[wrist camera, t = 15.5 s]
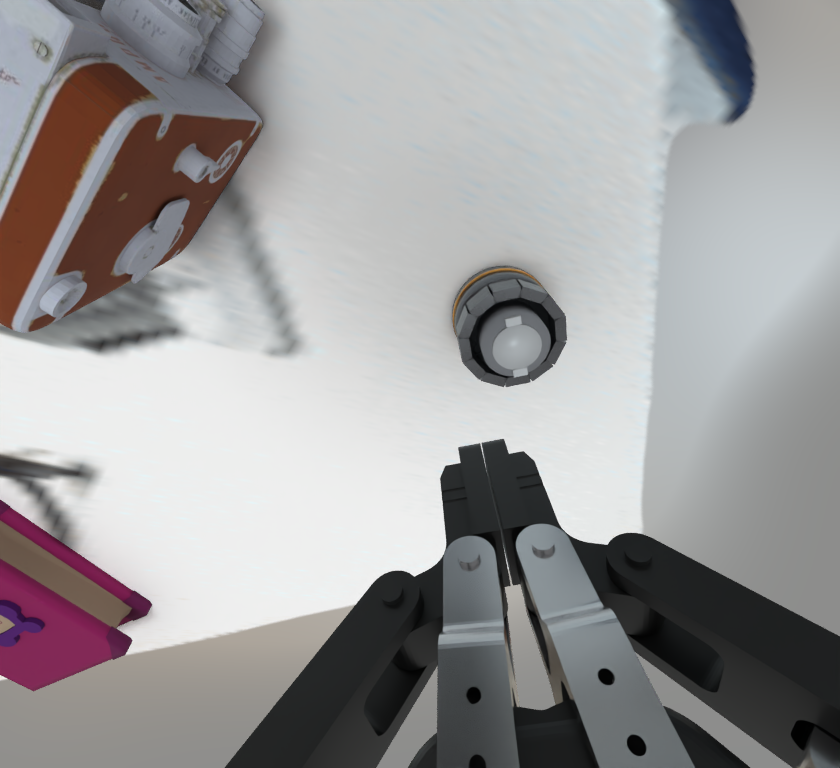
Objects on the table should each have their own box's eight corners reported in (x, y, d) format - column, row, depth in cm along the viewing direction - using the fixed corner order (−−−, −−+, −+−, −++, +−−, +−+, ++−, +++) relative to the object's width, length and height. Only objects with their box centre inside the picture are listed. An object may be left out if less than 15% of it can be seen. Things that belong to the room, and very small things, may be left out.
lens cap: (471, 308, 37) (477, 324, 34) (536, 293, 37) (548, 308, 34) (481, 364, 40) (488, 384, 37) (542, 351, 40) (554, 369, 36)
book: (60, 645, 69) (23, 699, 62) (-126, 542, 56) (-196, 596, 50) (157, 603, 64) (129, 656, 58) (-21, 479, 52) (-84, 530, 45)
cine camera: (324, 72, 32) (230, 2, 15) (195, 265, 39) (30, 368, 22) (212, -43, 29) (-69, -298, 12) (93, 190, 36) (-196, 243, 19)
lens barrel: (443, 277, 40) (449, 300, 35) (542, 254, 40) (564, 275, 34) (460, 362, 45) (467, 395, 39) (549, 344, 44) (569, 375, 39)
